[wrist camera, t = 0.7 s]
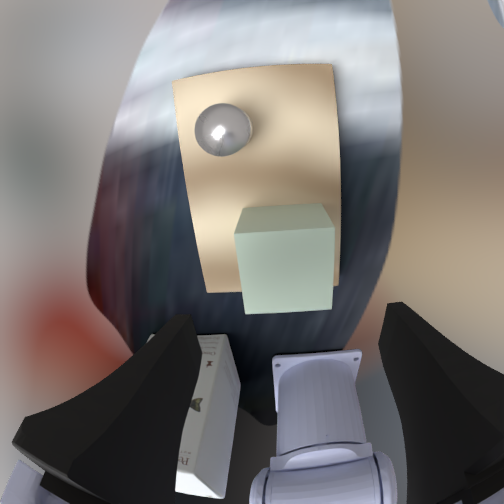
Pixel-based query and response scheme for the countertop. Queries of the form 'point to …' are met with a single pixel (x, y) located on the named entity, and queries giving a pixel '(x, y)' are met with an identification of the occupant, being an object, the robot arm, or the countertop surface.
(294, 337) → the countertop surface
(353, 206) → the countertop surface
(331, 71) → the board
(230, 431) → the supplement box
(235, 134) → the silver knob
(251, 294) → the pale green block
